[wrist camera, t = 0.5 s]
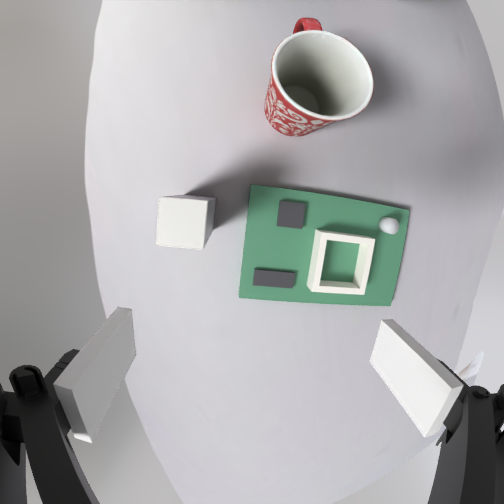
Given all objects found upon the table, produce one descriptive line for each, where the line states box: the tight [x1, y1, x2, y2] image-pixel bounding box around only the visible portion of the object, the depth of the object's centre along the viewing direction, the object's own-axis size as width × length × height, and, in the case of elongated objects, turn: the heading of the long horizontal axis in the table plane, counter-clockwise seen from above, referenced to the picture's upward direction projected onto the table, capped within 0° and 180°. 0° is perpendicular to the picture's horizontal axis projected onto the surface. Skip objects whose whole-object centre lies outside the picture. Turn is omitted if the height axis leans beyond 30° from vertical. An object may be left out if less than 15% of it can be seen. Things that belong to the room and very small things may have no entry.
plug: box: [156, 195, 216, 250], centre depth 29 cm, size 4×4×12 cm
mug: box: [265, 18, 374, 137], centre depth 25 cm, size 13×9×14 cm
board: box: [239, 185, 409, 306], centre depth 35 cm, size 14×22×4 cm, turn 84°
